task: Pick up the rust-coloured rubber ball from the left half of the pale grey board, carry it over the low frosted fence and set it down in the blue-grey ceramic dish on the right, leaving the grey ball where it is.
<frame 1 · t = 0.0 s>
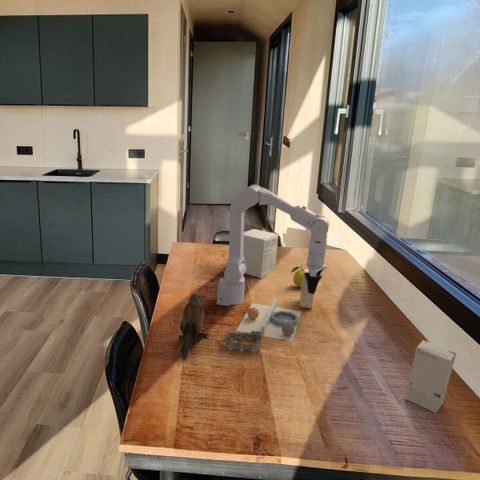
hand: (312, 289, 150), 10 cm above the table, tool pointing down, fingers open, 7 cm apart
egg carton: (242, 347, 129), on the table
skincare box: (424, 402, 108), on the table
supplement box 2: (256, 271, 194), on the table
rust ball: (253, 313, 144), point 3 cm above the table, touching board
board: (270, 323, 145), on the table
bird figurine: (194, 343, 129), on the table
supplement box: (306, 306, 159), on the table, touching gripper
dish: (284, 320, 145), resting on board
fence: (268, 322, 145), resting on board
grey ball: (288, 329, 135), point 3 cm above the table, touching board
lemon: (298, 287, 178), on the table
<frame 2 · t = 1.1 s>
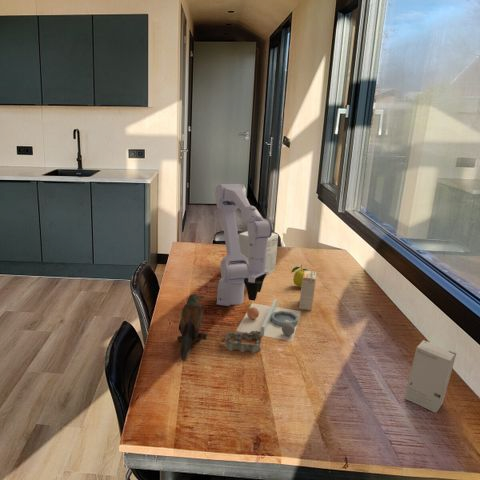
hand: (254, 295, 143), 9 cm above the table, tool pointing down, fingers open, 7 cm apart
supplement box: (305, 307, 159), on the table
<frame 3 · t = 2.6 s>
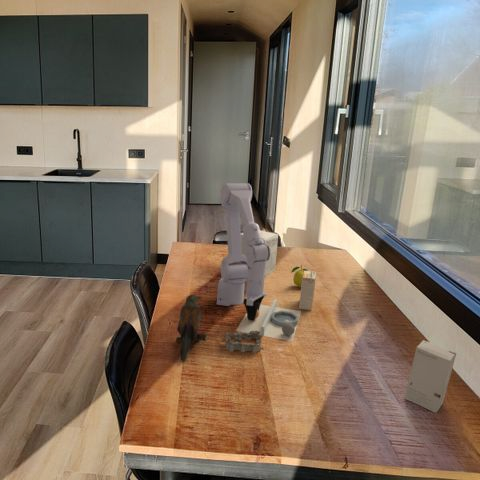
hand: (252, 317, 145), 2 cm above the table, tool pointing down, fingers closed on rust ball, 4 cm apart
rust ball: (253, 313, 144), point 3 cm above the table, touching board, gripper
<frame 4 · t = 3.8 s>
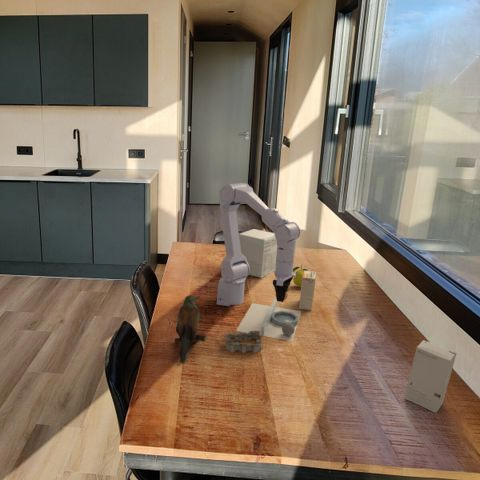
hand: (281, 298, 143), 9 cm above the table, tool pointing down, fingers closed on rust ball, 4 cm apart
rust ball: (281, 294, 142), point 10 cm above the table, touching gripper
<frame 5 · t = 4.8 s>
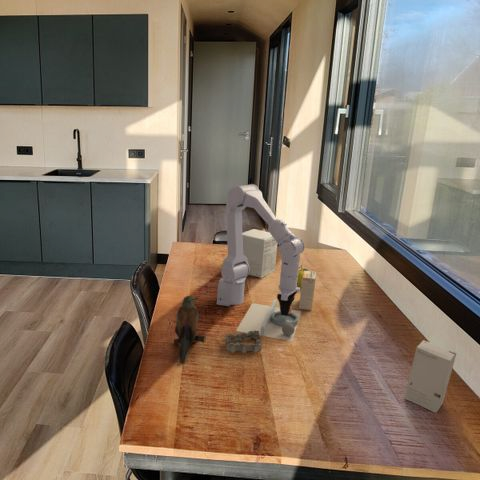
hand: (285, 312, 144), 4 cm above the table, tool pointing down, fingers closed on rust ball, 4 cm apart
rust ball: (285, 308, 144), point 6 cm above the table, touching gripper
when the fingers open (3 cm above the table, at t = 5.4 s): rust ball drops 1 cm, resting on dish.
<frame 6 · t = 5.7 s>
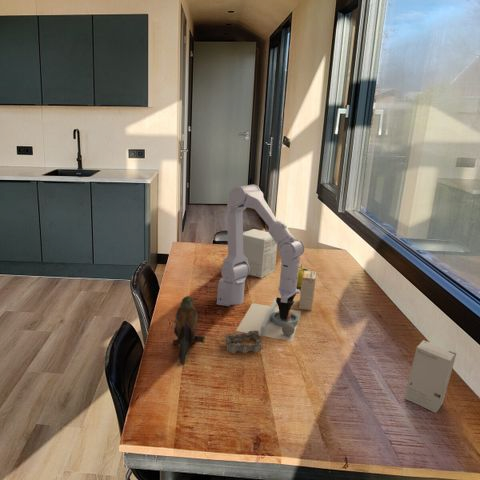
hand: (285, 314, 144), 3 cm above the table, tool pointing down, fingers open, 7 cm apart
rust ball: (285, 313, 144), point 4 cm above the table, touching dish
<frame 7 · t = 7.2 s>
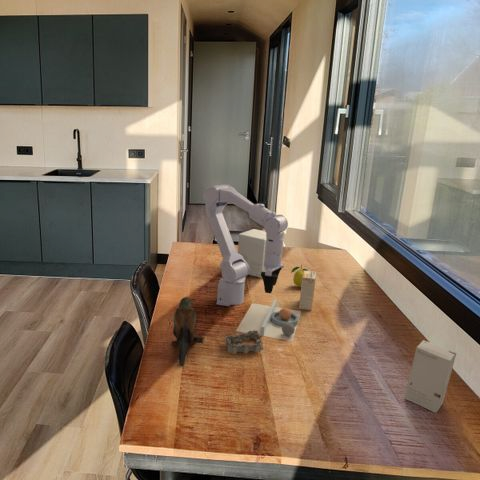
hand: (270, 288, 148), 10 cm above the table, tool pointing down, fingers open, 7 cm apart
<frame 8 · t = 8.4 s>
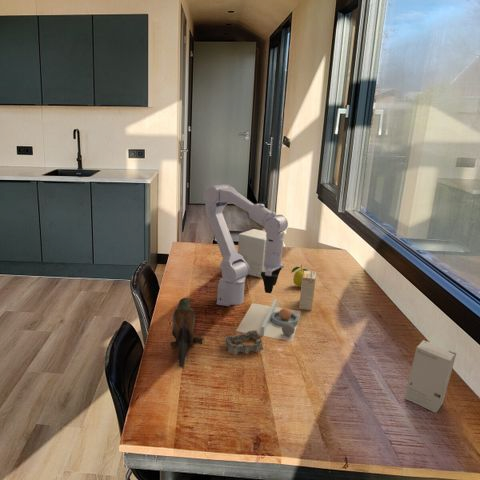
hand: (270, 288, 148), 10 cm above the table, tool pointing down, fingers open, 7 cm apart
at the end: rust ball 0.1 cm off-centre on the dish, point 2.6 cm above the dish's base; the gripper is holding nothing; grey ball moved 0.0 cm from its start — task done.
